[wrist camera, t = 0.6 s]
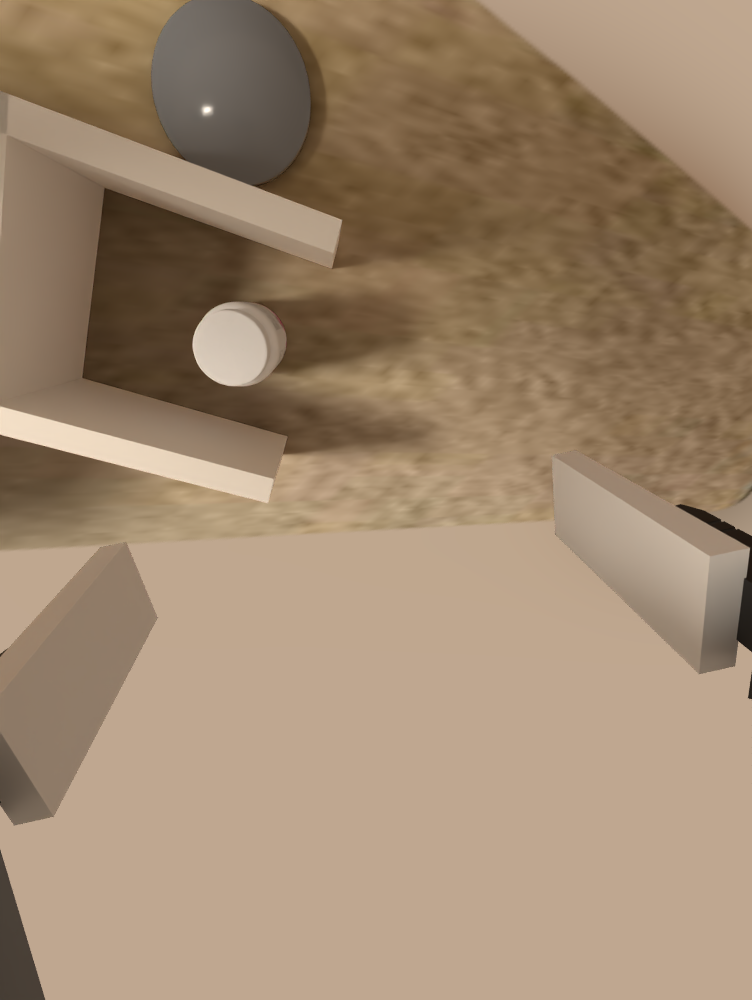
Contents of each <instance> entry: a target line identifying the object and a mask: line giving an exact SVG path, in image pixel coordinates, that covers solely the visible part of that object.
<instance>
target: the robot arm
mask: <svg viewBox="0 0 752 1000" xmlns="http://www.w3.org/2000/svg"><path fill="white" fill-rule="evenodd" d="M552 471H553V495H554V518H555V535H556V536H557V537H558V538H559V539H560V540H561V541H562V542H563V543H564V544H566V545H567V546H568V547H569V548H570V549H571V550H572V551H573V552H574V553H575V554H576V555H577V556H578V557H579V558H580V559H581V560H582V561H583V562H584V563H585V564H586V565H587V566H588V567H589V568H590V569H592V571H594V573H596V574H597V576H599V577H600V578H601V579H602V580H603V581H604V582H605V583H606V584H607V585H608V586H609V587H610V588H611V589H612V590H613V591H614V592H615V593H616V594H617V595H618V596H619V597H620V598H621V599H622V600H623V601H624V602H625V603H626V604H627V605H629V607H631V608H632V609H633V610H634V611H635V612H636V613H637V614H638V615H639V616H640V617H641V618H642V619H643V620H644V621H645V622H646V623H647V624H648V625H649V626H650V627H651V628H652V629H653V630H654V631H655V632H656V633H657V634H658V635H659V636H660V637H661V638H662V639H664V641H666V642H667V643H668V644H669V645H670V646H671V647H672V648H673V649H674V650H675V651H676V652H677V653H678V654H679V655H680V656H681V657H682V658H683V659H684V660H685V661H686V662H687V663H688V664H689V665H690V666H691V667H692V668H693V669H694V670H696V672H698V673H699V674H701V673H706V672H711V671H715V670H720V669H724V668H728V667H733V666H735V663H736V655H737V647H738V641H739V642H740V643H741V644H743V645H744V646H745V647H746V648H748V649H749V650H750V651H751V652H752V536H751V535H749V534H747V533H745V532H743V531H741V530H739V529H737V530H736V529H735V527H734V526H732V525H730V524H728V523H726V522H721V519H718V518H717V517H715V516H713V515H711V514H709V513H707V512H706V511H704V510H700V509H696V508H693V507H689V506H685V505H682V504H680V505H676V506H675V505H673V504H671V503H669V502H667V501H666V500H664V499H662V498H660V497H658V496H657V495H655V494H653V493H651V492H650V491H648V490H646V489H644V488H642V487H641V486H639V485H637V484H635V483H634V482H632V481H630V480H628V479H626V478H625V477H623V476H621V475H619V474H618V473H616V472H614V471H612V470H610V469H609V468H607V467H605V466H603V465H601V464H600V463H598V462H596V461H594V460H593V459H591V458H589V457H587V456H585V455H584V454H582V453H580V452H578V451H577V450H574V451H569V452H564V453H560V454H555V455H552ZM156 620H157V615H156V613H155V610H154V608H153V606H152V603H151V601H150V598H149V596H148V593H147V591H146V589H145V586H144V584H143V581H142V579H141V577H140V574H139V572H138V569H137V567H136V565H135V562H134V560H133V557H132V555H131V552H130V550H129V548H128V545H127V543H126V542H124V543H119V544H114V545H109V546H104V547H100V548H99V549H98V551H97V552H96V553H95V554H94V555H93V556H92V557H91V558H90V559H89V560H88V562H87V563H86V564H85V565H84V566H83V567H82V568H81V569H80V570H79V571H78V572H77V574H76V575H75V576H74V577H73V578H72V579H71V580H70V581H69V582H68V583H67V585H66V586H65V587H64V588H63V589H62V590H61V591H60V592H59V593H58V594H57V596H56V597H55V598H54V599H53V600H52V601H51V602H50V603H49V604H48V605H47V606H46V608H45V609H44V610H43V611H42V612H41V613H40V614H39V615H38V616H37V617H36V618H35V620H34V621H33V622H32V623H31V624H30V625H29V626H28V627H27V628H26V630H24V632H23V633H22V634H21V635H20V636H19V637H18V638H17V639H16V640H15V641H14V643H13V644H12V645H11V646H10V647H9V648H8V649H6V650H5V651H4V652H3V653H1V654H0V805H1V807H2V808H3V810H4V811H5V813H6V814H7V816H8V817H9V818H10V820H11V821H12V823H13V824H14V825H18V824H23V823H27V822H32V821H35V820H41V819H45V818H50V817H53V816H54V815H55V813H56V811H57V809H58V807H59V805H60V803H61V801H62V800H63V798H64V796H65V793H66V792H67V790H68V788H69V786H70V784H71V782H72V780H73V779H74V776H75V775H76V773H77V771H78V769H79V767H80V765H81V763H82V761H83V759H84V758H85V756H86V754H87V752H88V750H89V748H90V746H91V744H92V742H93V740H94V738H95V736H96V735H97V733H98V731H99V729H100V727H101V725H102V723H103V721H104V719H105V717H106V715H107V714H108V712H109V710H110V708H111V706H112V704H113V702H114V700H115V698H116V696H117V694H118V693H119V690H120V689H121V687H122V685H123V683H124V681H125V679H126V677H127V675H128V673H129V671H130V670H131V668H132V666H133V664H134V662H135V660H136V658H137V656H138V654H139V652H140V650H141V649H142V647H143V645H144V643H145V641H146V639H147V637H148V635H149V633H150V631H151V629H152V627H153V626H154V624H155V622H156ZM748 698H749V699H752V675H751V681H750V688H749V696H748ZM0 1000H45V998H44V994H43V991H42V987H41V984H40V981H39V977H38V974H37V971H36V967H35V964H34V961H33V958H32V954H31V951H30V948H29V944H28V941H27V938H26V934H25V931H24V927H23V924H22V921H21V917H20V914H19V911H18V907H17V904H16V901H15V897H14V894H13V891H12V888H11V884H10V881H9V877H8V874H7V871H6V868H5V864H4V861H3V858H2V854H1V851H0Z"/></svg>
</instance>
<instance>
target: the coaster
mask: <svg viewBox="0 0 752 1000" xmlns="http://www.w3.org/2000/svg"><path fill="white" fill-rule="evenodd" d="M151 80H152V92H153V99H154V103H155V107H156V111H157V114H158V116H159V119H160V122H161V124H162V126H163V128H164V130H165V132H166V134H167V136H168V137H169V139H170V141H171V142H172V144H173V145H174V147H175V148H176V149H177V150H178V152H179V153H180V154H181V155H182V156H183V157H184V158H185V159H186V160H187V161H188V162H190V163H193V164H195V165H198V166H201V167H203V168H206V169H209V170H211V171H214V172H217V173H219V174H222V175H225V176H227V177H230V178H232V179H235V180H238V181H240V182H243V183H246V184H248V185H251V186H259V185H262V184H265V183H267V182H269V181H272V180H274V179H275V178H277V177H278V176H280V175H281V174H282V173H284V172H285V171H286V170H287V169H288V168H289V167H290V166H291V164H292V163H293V162H294V161H295V159H296V158H297V156H298V154H299V153H300V151H301V149H302V147H303V144H304V142H305V140H306V136H307V133H308V129H309V123H310V114H311V99H310V87H309V81H308V76H307V72H306V68H305V65H304V62H303V59H302V57H301V54H300V52H299V50H298V48H297V46H296V44H295V42H294V40H293V39H292V37H291V36H290V34H289V33H288V31H287V30H286V29H285V28H284V26H283V25H282V24H281V23H280V22H279V21H278V20H277V19H276V18H275V17H274V16H273V15H272V14H271V13H270V12H269V11H267V10H266V9H264V8H263V7H262V6H260V5H259V4H257V3H255V2H253V1H251V0H191V1H189V2H188V3H186V4H185V5H183V6H182V7H181V8H179V9H178V10H177V11H176V12H175V13H174V14H173V15H172V16H171V17H170V19H169V20H168V22H167V23H166V25H165V26H164V28H163V30H162V32H161V34H160V36H159V38H158V41H157V44H156V47H155V50H154V55H153V60H152V71H151Z"/></svg>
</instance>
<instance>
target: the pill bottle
mask: <svg viewBox="0 0 752 1000" xmlns="http://www.w3.org/2000/svg"><path fill="white" fill-rule="evenodd" d="M286 345H287V338H286V332H285V329H284V326H283V324H282V322H281V321H280V319H279V318H278V317H277V315H276V314H275V313H274V312H272V311H271V310H270V309H268V308H267V307H265V306H263V305H261V304H258V303H251V302H228V303H224V304H221V305H218V306H216V307H214V308H213V309H211V310H210V311H209V312H208V313H207V314H206V315H205V316H204V317H203V319H202V321H201V322H200V323H199V325H198V326H197V328H196V330H195V333H194V336H193V352H194V356H195V359H196V361H197V364H198V365H199V367H200V368H201V370H202V371H203V372H204V373H205V374H206V375H207V376H208V377H209V378H211V379H212V380H214V381H215V382H218V383H220V384H223V385H227V386H250V385H254V384H257V383H259V382H261V381H263V380H264V379H265V378H266V377H268V376H269V375H270V374H271V373H272V371H273V370H274V369H275V368H276V367H277V366H278V364H279V363H280V362H281V360H282V359H283V357H284V354H285V351H286Z"/></svg>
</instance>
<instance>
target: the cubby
mask: <svg viewBox="0 0 752 1000" xmlns="http://www.w3.org/2000/svg"><path fill="white" fill-rule="evenodd" d="M105 188H106V189H109V190H112V191H115V192H118V193H121V194H123V195H126V196H129V197H132V198H135V199H137V200H140V201H143V202H146V203H149V204H151V205H154V206H157V207H160V208H163V209H165V210H168V211H171V212H174V213H177V214H179V215H182V216H185V217H188V218H191V219H193V220H196V221H199V222H202V223H205V224H208V225H210V226H213V227H216V228H219V229H222V230H224V231H227V232H230V233H233V234H236V235H238V236H241V237H244V238H247V239H250V240H252V241H255V242H258V243H261V244H264V245H266V246H269V247H272V248H275V249H278V250H280V251H283V252H286V253H289V254H292V255H295V256H297V257H300V258H303V259H306V260H309V261H311V262H314V263H317V264H320V265H323V266H325V267H328V268H331V269H332V266H333V263H334V259H335V255H336V251H337V248H338V243H339V237H340V231H341V225H342V220H341V219H338V218H336V217H333V216H330V215H328V214H325V213H323V212H320V211H317V210H315V209H312V208H309V207H307V206H304V205H301V204H299V203H296V202H293V201H291V200H288V199H285V198H283V197H280V196H277V195H275V194H272V193H270V192H267V191H264V190H262V189H259V188H256V187H254V186H251V185H248V184H246V183H243V182H240V181H238V180H235V179H232V178H230V177H227V176H225V175H222V174H219V173H217V172H214V171H211V170H209V169H206V168H203V167H201V166H198V165H195V164H193V163H190V162H187V161H185V160H182V159H180V158H177V157H174V156H172V155H169V154H166V153H164V152H161V151H158V150H156V149H153V148H150V147H148V146H145V145H142V144H140V143H137V142H134V141H132V140H129V139H127V138H124V137H121V136H119V135H116V134H113V133H111V132H108V131H105V130H103V129H100V128H97V127H95V126H92V125H89V124H87V123H84V122H82V121H79V120H76V119H74V118H71V117H68V116H66V115H63V114H60V113H58V112H55V111H52V110H50V109H47V108H44V107H42V106H39V105H36V104H34V103H31V102H29V101H26V100H23V99H21V98H18V97H15V96H13V95H10V94H7V93H5V92H2V91H0V435H3V436H7V437H11V438H15V439H19V440H23V441H27V442H31V443H35V444H39V445H42V446H46V447H50V448H54V449H58V450H62V451H66V452H70V453H74V454H78V455H82V456H85V457H89V458H93V459H97V460H101V461H105V462H109V463H113V464H117V465H121V466H125V467H129V468H132V469H136V470H140V471H144V472H148V473H152V474H156V475H160V476H164V477H168V478H172V479H176V480H179V481H183V482H187V483H191V484H195V485H199V486H203V487H207V488H211V489H215V490H219V491H222V492H226V493H230V494H234V495H238V496H242V497H246V498H250V499H254V500H258V501H262V502H266V503H268V501H269V498H270V495H271V492H272V488H273V485H274V482H275V478H276V475H277V472H278V469H279V465H280V462H281V459H282V456H283V452H284V448H285V444H286V441H287V437H288V436H285V435H281V434H278V433H274V432H271V431H267V430H263V429H260V428H256V427H253V426H249V425H246V424H242V423H239V422H235V421H232V420H228V419H225V418H221V417H218V416H214V415H211V414H207V413H204V412H200V411H197V410H193V409H190V408H186V407H182V406H179V405H175V404H172V403H168V402H165V401H161V400H158V399H154V398H151V397H147V396H144V395H140V394H137V393H133V392H130V391H126V390H123V389H119V388H116V387H112V386H108V385H105V384H101V383H98V382H94V381H91V380H87V379H84V378H82V376H83V367H84V359H85V350H86V342H87V333H88V325H89V317H90V308H91V300H92V291H93V283H94V274H95V266H96V257H97V249H98V240H99V232H100V223H101V215H102V206H103V198H104V189H105Z"/></svg>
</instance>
